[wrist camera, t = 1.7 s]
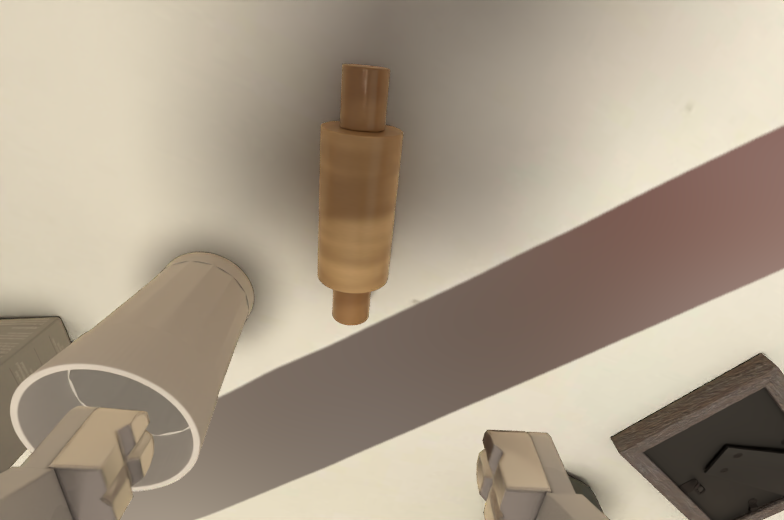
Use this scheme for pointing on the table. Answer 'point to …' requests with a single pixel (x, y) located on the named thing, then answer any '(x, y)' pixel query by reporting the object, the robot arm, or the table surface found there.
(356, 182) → the rolling pin
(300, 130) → the table surface
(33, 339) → the cosmetic box
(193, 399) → the cup
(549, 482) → the robot arm
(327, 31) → the table surface
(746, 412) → the picture frame
